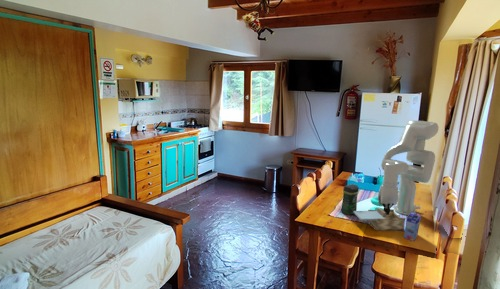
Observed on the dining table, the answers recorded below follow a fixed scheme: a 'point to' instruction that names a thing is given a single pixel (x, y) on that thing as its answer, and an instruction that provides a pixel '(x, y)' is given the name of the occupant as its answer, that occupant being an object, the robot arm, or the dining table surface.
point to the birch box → (388, 222)
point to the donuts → (375, 203)
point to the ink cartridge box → (412, 226)
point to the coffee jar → (349, 199)
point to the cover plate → (370, 214)
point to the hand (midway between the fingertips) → (386, 213)
